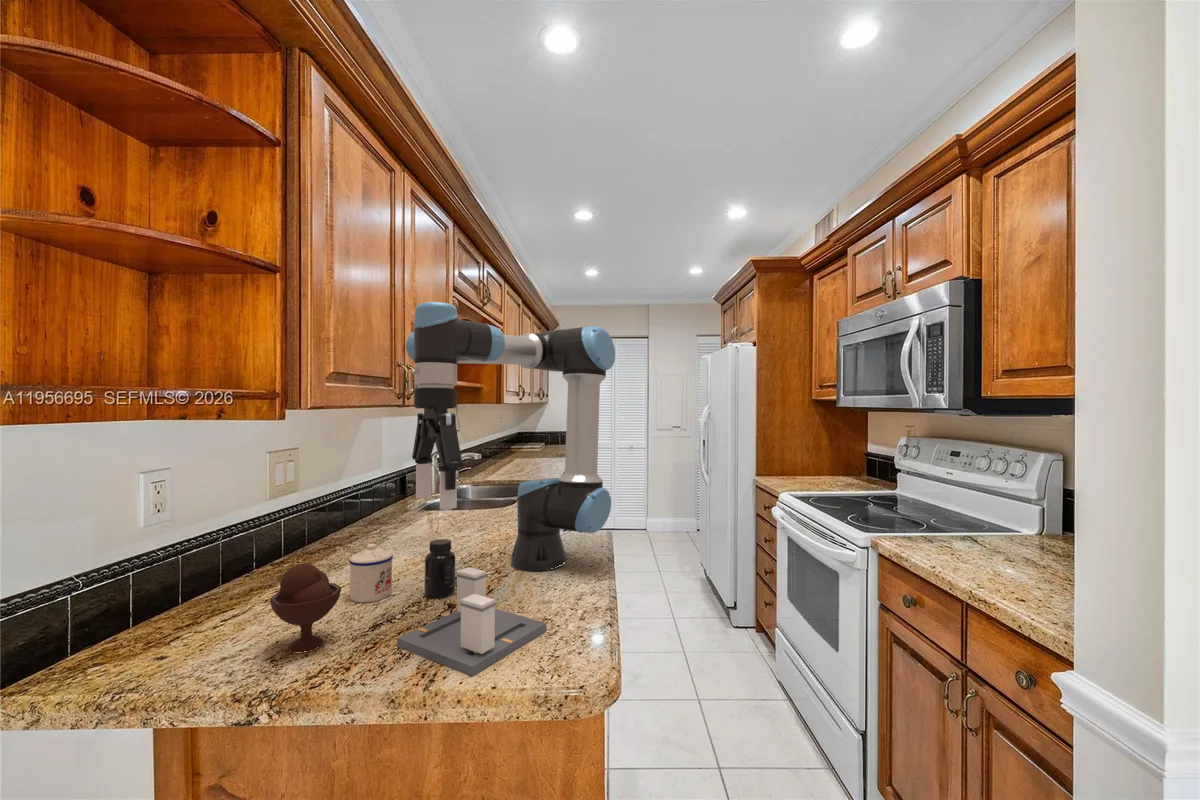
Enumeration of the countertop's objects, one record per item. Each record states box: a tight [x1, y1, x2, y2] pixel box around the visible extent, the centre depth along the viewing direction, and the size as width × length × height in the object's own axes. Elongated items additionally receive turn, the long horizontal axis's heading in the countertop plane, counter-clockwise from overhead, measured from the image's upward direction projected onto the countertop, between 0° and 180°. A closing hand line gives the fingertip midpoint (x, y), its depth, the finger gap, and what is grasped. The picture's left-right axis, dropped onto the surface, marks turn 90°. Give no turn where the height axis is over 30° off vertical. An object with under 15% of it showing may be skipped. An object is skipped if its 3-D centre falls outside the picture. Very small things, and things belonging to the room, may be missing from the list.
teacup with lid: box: [348, 543, 394, 603], centre depth 115 cm, size 12×9×12 cm
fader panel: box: [396, 608, 547, 677], centre depth 92 cm, size 19×19×2 cm
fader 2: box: [460, 594, 496, 654], centre depth 85 cm, size 3×5×9 cm, turn 58°
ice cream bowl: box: [269, 562, 342, 652], centre depth 89 cm, size 11×11×15 cm
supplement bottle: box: [423, 538, 456, 599], centre depth 115 cm, size 7×7×12 cm
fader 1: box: [456, 566, 487, 612], centre depth 99 cm, size 3×5×9 cm, turn 58°
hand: (435, 502), depth 91 cm, fingers open, 13 cm apart
